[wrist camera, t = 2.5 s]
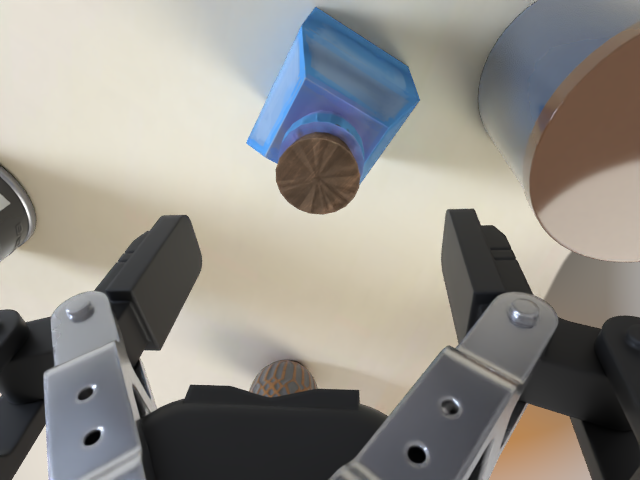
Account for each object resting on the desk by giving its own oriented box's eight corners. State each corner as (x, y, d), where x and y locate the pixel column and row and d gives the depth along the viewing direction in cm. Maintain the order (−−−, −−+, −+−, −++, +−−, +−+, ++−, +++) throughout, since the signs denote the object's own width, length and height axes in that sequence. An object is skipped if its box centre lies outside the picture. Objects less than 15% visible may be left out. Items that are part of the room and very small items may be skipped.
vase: (286, 340, 39) (269, 428, 32) (335, 375, 42) (329, 463, 35) (242, 368, 42) (217, 453, 35) (290, 398, 45) (276, 483, 38)
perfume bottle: (352, 151, 27) (345, 267, 18) (269, 104, 26) (212, 201, 16) (408, 66, 24) (438, 152, 14) (315, 6, 22) (278, 56, 13)
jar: (437, 90, 24) (475, 166, 16) (609, -81, 19) (791, -97, 11) (541, 192, 28) (615, 297, 20) (710, 70, 23) (908, 144, 14)
